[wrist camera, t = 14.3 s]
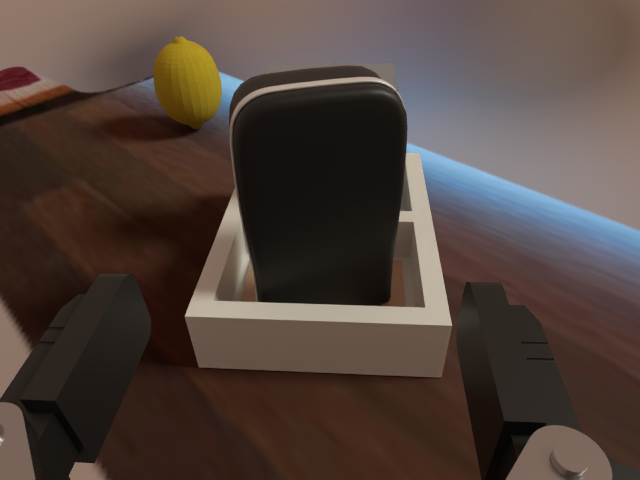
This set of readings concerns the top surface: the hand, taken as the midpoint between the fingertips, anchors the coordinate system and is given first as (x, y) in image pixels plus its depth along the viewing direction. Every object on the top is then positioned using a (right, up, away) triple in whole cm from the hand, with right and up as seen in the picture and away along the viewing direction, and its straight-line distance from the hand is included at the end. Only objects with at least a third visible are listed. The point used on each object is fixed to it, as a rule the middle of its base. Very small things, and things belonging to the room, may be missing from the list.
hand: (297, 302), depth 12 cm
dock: (+1, 0, +17) cm, 17 cm away
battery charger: (+1, -1, +14) cm, 14 cm away
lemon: (-11, +11, +33) cm, 36 cm away
